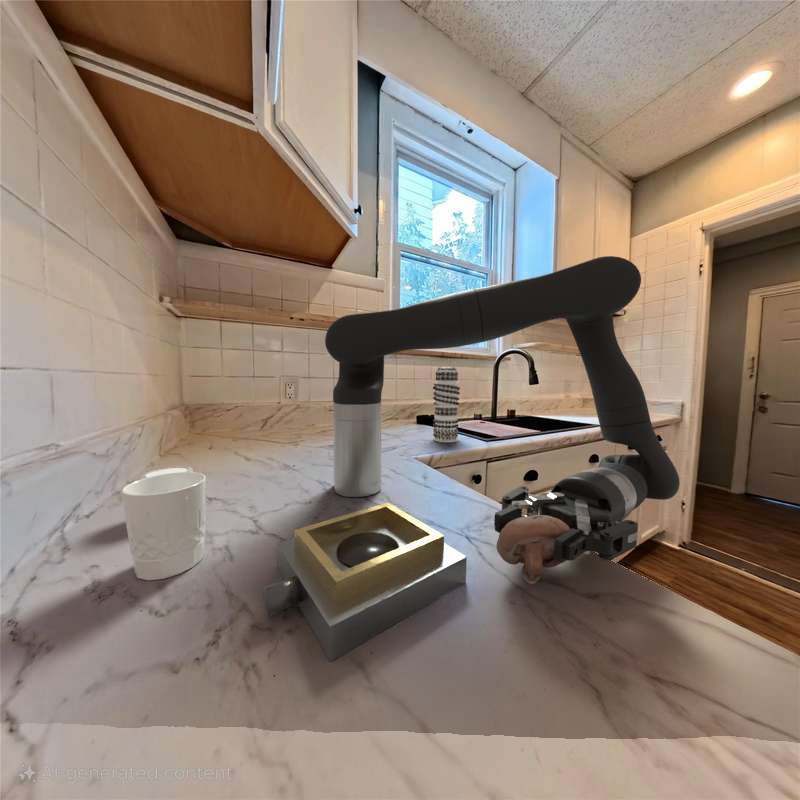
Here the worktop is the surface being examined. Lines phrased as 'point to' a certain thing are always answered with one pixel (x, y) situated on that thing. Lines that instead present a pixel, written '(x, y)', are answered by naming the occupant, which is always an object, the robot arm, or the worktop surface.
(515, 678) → the worktop surface
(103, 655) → the worktop surface
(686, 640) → the worktop surface
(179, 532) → the white cup
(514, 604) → the worktop surface
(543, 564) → the mushroom
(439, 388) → the decorative candle
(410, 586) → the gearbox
